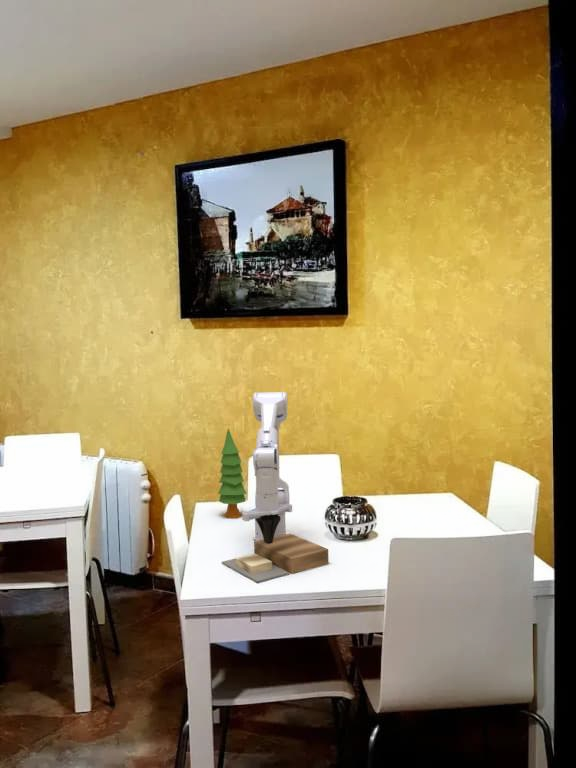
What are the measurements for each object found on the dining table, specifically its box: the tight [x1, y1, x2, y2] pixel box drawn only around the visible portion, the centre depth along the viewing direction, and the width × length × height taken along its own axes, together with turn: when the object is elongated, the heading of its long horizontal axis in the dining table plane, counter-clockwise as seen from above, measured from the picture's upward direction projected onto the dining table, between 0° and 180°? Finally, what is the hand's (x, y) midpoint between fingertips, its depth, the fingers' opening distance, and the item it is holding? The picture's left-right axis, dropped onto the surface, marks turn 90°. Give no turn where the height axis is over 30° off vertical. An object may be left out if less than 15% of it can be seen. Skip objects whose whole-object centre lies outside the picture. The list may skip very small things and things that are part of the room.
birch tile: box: [236, 553, 272, 574], centre depth 184 cm, size 8×6×2 cm
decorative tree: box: [217, 428, 247, 519], centre depth 234 cm, size 10×9×30 cm
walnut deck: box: [253, 532, 329, 575], centre depth 190 cm, size 18×12×4 cm, turn 35°
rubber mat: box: [221, 556, 290, 584], centre depth 184 cm, size 18×10×1 cm, turn 35°
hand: (268, 542), depth 186 cm, fingers closed
